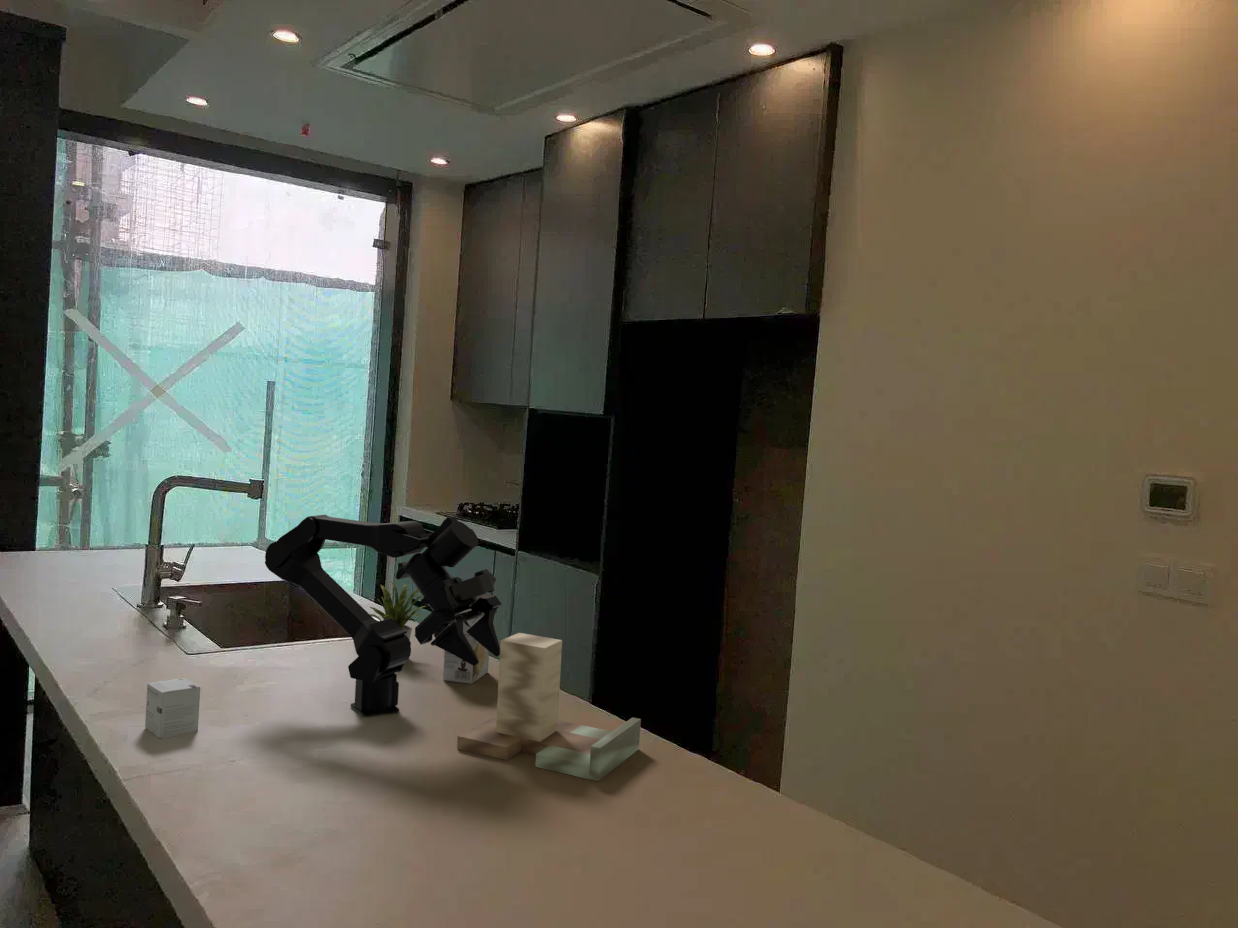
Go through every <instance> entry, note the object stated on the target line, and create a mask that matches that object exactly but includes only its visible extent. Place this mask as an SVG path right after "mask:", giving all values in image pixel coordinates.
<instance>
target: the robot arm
mask: <svg viewBox="0 0 1238 928" xmlns="http://www.w3.org/2000/svg"><path fill="white" fill-rule="evenodd" d="M326 541H333V542H339V543H345V544H346V543H347V544H353V545H360V546H366V547H369V548H371V549H373V550H374V551H375V552H377V553H378V554H381V555H384V556H387V557H389V558H402V557H407V556H411V557H410V558H409V559H408V560H407V561H402V562H398V563H397V571H396V575H395V579H396V580H402V579H407V578H409V579H410V580H411V581H412V583H413V585H414V586H415V587H416V590H417V589H418V590H419V594H420V593H421V594H420V595H422V599H421V600H420V601H419V602H420V603H421V605H422V607H423V606H429V607H430V608H431V611H432V612H430V613H429V614H428V615H427V616H426V617H425V618H424V619H423V620H422V621H421V622H419V623H418V624H417V625H416V627H414V637H415V639H417V642H419V644H420V646H422V645H424V644H427V643H430V645H431V646H432V647H433V646H435V647H437V648H440V649H442V650H443V651H444V652H445V651H447V652H449V653H451V654H453V655H455V656H457V657H459V658H460V659H462V660H464V661H466V662H467V663H469V664H471V665H473V666H476V665H477V664H478V663H479V660H478V658H477V656H476V654H475V652H474V651H473V649H472V647H471V646H470V644H469V642H468V640H467V639H466V637H465V635H464V633H463V622H464V623H465V624H466V625H467V626H469V627H471V628H470V629H468V630H467V631H466V632H467V633H468V634H469V635H471V636H472V637H473V638H474V639H475V640H477V641H478V642H479V643H480V644H481V645H482V646H484V647H485V648H486V649H487V650H488V651H489V653H490V654H492V655H494V657H500V643H499V640H498V637H497V634H496V629H495V625H494V620H495V615H496V614H497V612H498V609H500V608H501V606H502V605H503V604H502V602H501V601H500V600H499V598H498V596H497V595H493V594H490V593H493V592H495V587H494V586H495V583H496V581H497V578H496V577H495V576H493V574H492V572H490V571H489V570H488V569H487V568H486V569H481V570H479V571H476V572H474V576H473V577H471V578H468V579H465V580H462V578H461V577H458V576H456V577H452V576H451V574H450V573H449V571H448V570H447V568H446V567H448V568H454V567H455V568H456V566H457V565H458V564H459V563H461V562H462V561H463V559H465V558H466V557H467V556H469V554H470V553H472V551H474V549H476V548H477V547H478V545H479V538H478V535H477V534H476V532H475V531H474V529H472V528H471V527H469V526H468V525H467V524H465V523H464V522H462V521H460V520H458V519H457V518H456V516H454V515H453V516H447V517H446V518H445V519H444V520H443V521H442V522H441V524H440V526H438V527H437V528H436V529H435V530H434V531H432V530H429V529H426V528H425V527H423V524H422V523H421V522H419V521H416V520H408V521H395V522H386V523H384V522H383V523H377V522H371V521H362V520H356V519H349V518H348V519H347V518H342V517H341V518H340V517H333V516H329V515H327V514H317V515H310V516H307V517H305V518H304V519H302V520H301V521H300V522H299V524H297V525H296V526H295V527H293V528H292V529H291V530H289V531H288V532H286V533H285V534H284V535H281V536H280V537H279V538H278V539H277V540H276V541H274V542H272V543H270V544H269V545H268V546H267V548H266V550H265V556H264V564H265V566H266V568H267V570H268V571H269V572H271V573H272V574H273V575H275V576H276V577H278V578H279V579H281V580H283V581H285V582H288V583H291V584H293V585H296V586H298V587H300V588H301V589H302V590H303V591H304V592H306V593H307V595H308V596H309V597H310V598H311V599H313V601H314V602H315V603H316V604H317V605H319V607H321V609H323V610H324V611H325V613H327V614H328V615H329V616H330V618H331V619H333V620H334V622H335V623H337V624H338V626H340V628H342V629H343V630H344V631H345V632H346V633H347V634H348V635H349V637H351V639H352V640H353V644H354V649H355V653H356V655H357V658H355V659H354V660H352V662H350V664H349V665H348V667H347V669H348V672H349V677H350V678H351V679H354V680H355V689H354V690H355V691H354V702H353V703H350V708H352V709H353V710H354V711H356V712H357V713H359V715H360V716H363V717H370V716H371V717H373V716H379V715H386V714H393V713H398V712H400V708H399V707H398V704H399V691H400V687H399V686H400V682H398V679H397V678H398V675H397V673H400V672H403V669H404V666H405V664H406V663H407V662H408V660H409V659H410V657H411V655H412V647H411V645H412V642H411V641H410V640H411V639H410V640H409V638H408V637H407V636H406V635H405V634H406V633H407V631H404V630H402V629H401V628H400V627H399V626H398V625H397V624H396V622H395V621H394V620H393V619H391V618H389V619H385V620H384V619H381V620H382V621H380V620H378V619H376V618H375V617H373V616H371V615H370V613H369V612H368V611H367V610H365V609H364V607H363V606H362V605H361V604H359V603H358V602H357V601H356V599H354V598H353V597H352V596H351V595H350V594H349V593H348V592H347V591H346V590H345V589H344V588H343V587H342V586H341V585H340V584H339V583H338V582H337V581H336V580H335V579H333V577H331V575H329V573H328V572H327V571H325V569H323V567H322V561H321V558H320V554H319V552H320V551H321V550H322V549H323V548H324V545H325V542H326ZM425 548H426V549H425ZM424 549H425V550H424ZM423 550H424V551H423ZM422 551H423V552H422ZM421 552H422V553H421ZM487 593H489V595H487V596H484V597H480V598H479V599H478V600H477V598H476V597H477V596H480V595H483V594H487ZM472 603H473V604H472ZM471 604H472V605H471ZM470 605H471V606H470ZM462 615H463V616H462ZM433 637H434V639H433Z"/></svg>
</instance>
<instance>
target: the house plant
mask: <svg viewBox="0 0 1238 928" xmlns="http://www.w3.org/2000/svg"><path fill="white" fill-rule="evenodd" d="M390 582H391V585H392V586H393V589H394V598H395V600H394V602H395V603H394V604H393V600H392V594H391V593H390V592H389V591H388V590H387V589H386V587H385V586H384V585H383V584H379V585H380V588H381V590H382V593H383V596H382V595H381V599H382V602H383V604H382V602H381V601H380V600H378V602H379V603H380V604H381V606H382V608H383V609H384V612H383V611H382V610H380V609H378V608H376V607H373V606H369V608H370V609H372V610H373V611H374V612H375V613H376V614H378V615H379V616H380V617H381V618H382V619H381V618H380V617H379V616H378V615H376V614H373V613H371V614H370V613H369V614H370V615H371V616H372V617H373V618H374V619H376V620H378V621H382V620H385V619H389V618H391V619H393V620H394V621H395V622H396V624H397V625H398V626H399V627H400V628H401V629H402V630H404V631H407V633H406V634H405V635H406V636H407V637H408V638H409V640H411V635H412V631H413V627H412V626H409V625H407V623H408V622H409V621H410V622H414V623H416V622H415V621H416V620H415V619H414V618H412V617H413V616H414V617H416V618H419V617H420V615H419V614H420V610H421V609H422V608H425V607H427V605H425V606H423V605H422V606H420V607H418V608H416V609H414V608H413V607H414V605H415V604H416V602H418V600H420V599H421V598H423V596H422V594H421V593H420V591H419V590H418V589H417V588H416V590H415V591H413V592H412V593H411V594H409V593H407V592H408V588H407V585H408V584H407V583H404V584H403V586H402V589H401V592H400V594H399V591H398V589H397V587H396V585H395V584H394V582H393V581H392V580H391V579H390ZM365 591H366V592H368V593H370V594H371V595H373V593H372V592H370V591H369V590H365ZM417 593H418V594H417ZM408 595H409V596H408ZM415 595H416V596H415ZM417 596H418V597H417ZM414 599H415V600H414ZM405 601H406V602H405ZM410 604H411V605H410ZM408 607H409V608H408ZM412 611H413V612H412ZM410 612H411V613H410ZM416 612H418V613H416ZM409 613H410V614H409ZM408 614H409V615H408Z"/></svg>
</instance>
